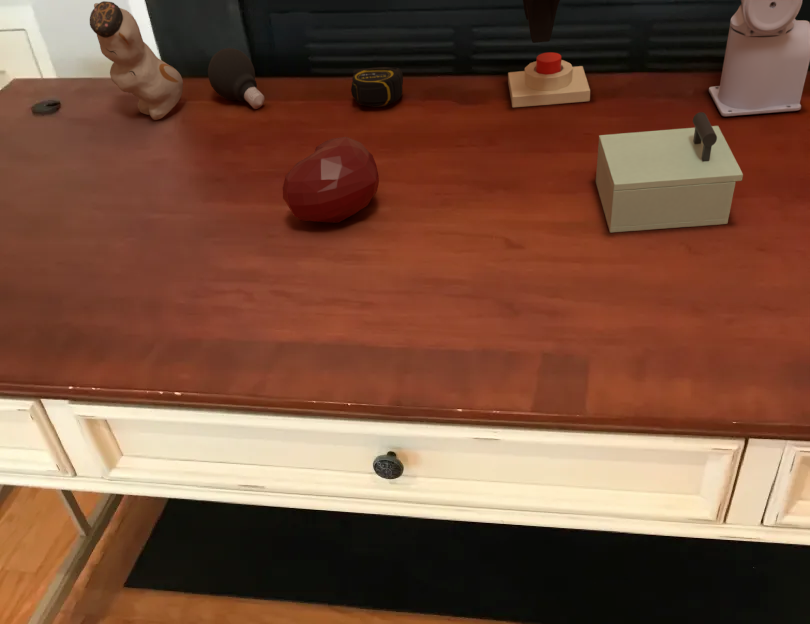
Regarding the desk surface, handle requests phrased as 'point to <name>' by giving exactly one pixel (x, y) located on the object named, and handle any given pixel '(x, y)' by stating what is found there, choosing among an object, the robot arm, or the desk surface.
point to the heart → (332, 182)
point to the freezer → (662, 204)
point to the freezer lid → (669, 157)
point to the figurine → (135, 61)
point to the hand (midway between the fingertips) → (537, 29)
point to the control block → (548, 86)
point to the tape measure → (377, 86)
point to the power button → (548, 63)
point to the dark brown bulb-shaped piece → (234, 77)
